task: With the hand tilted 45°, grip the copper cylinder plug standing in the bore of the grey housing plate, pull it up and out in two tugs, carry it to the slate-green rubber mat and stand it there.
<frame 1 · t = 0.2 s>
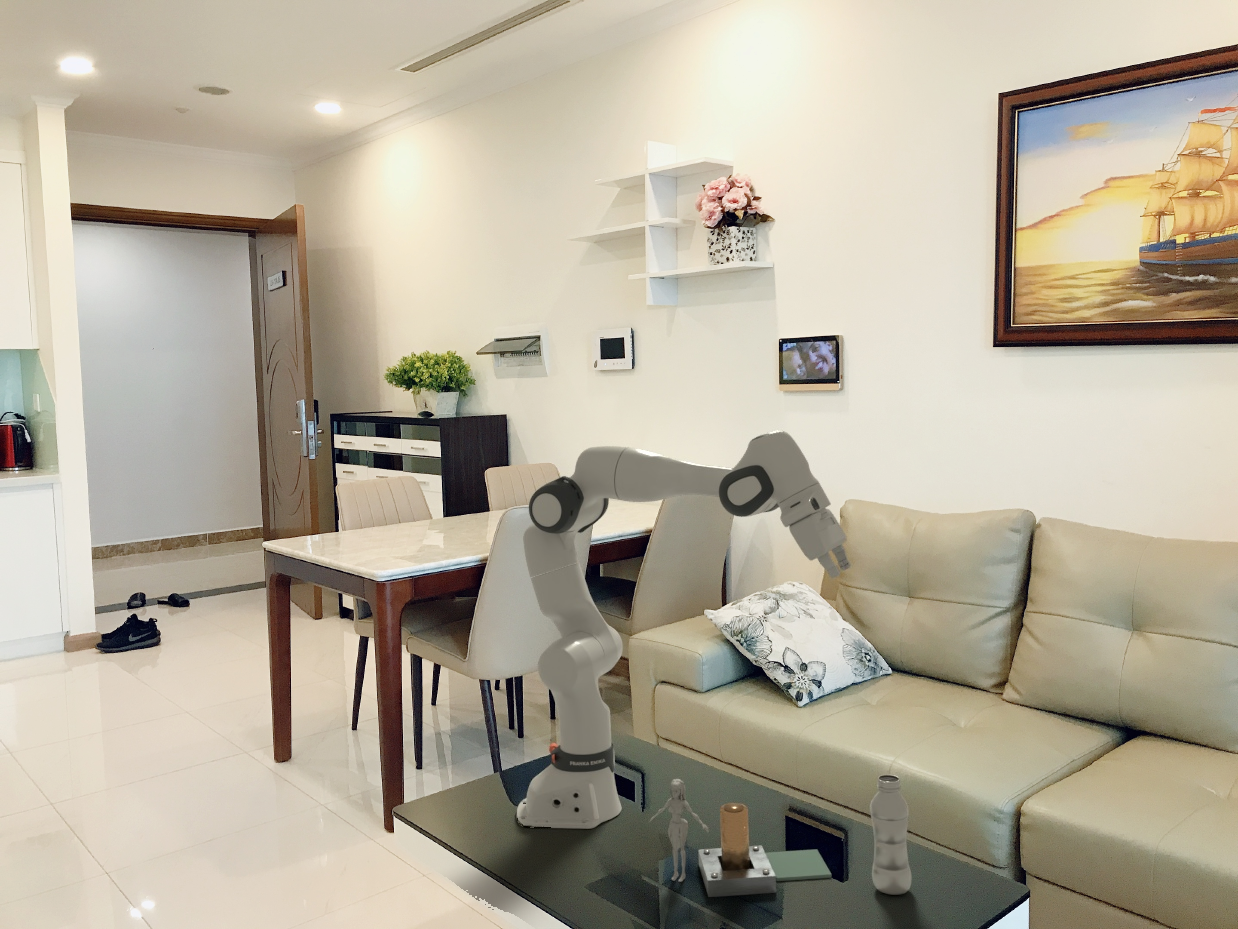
hand: (841, 572, 181), 54 cm above the table, tool tilted 30°, fingers open, 8 cm apart
housing: (736, 878, 175), on the table
human figurine: (680, 878, 177), on the table
plastic bottle: (891, 891, 169), on the table
copper plug: (735, 842, 175), in the housing
mat: (797, 866, 179), on the table
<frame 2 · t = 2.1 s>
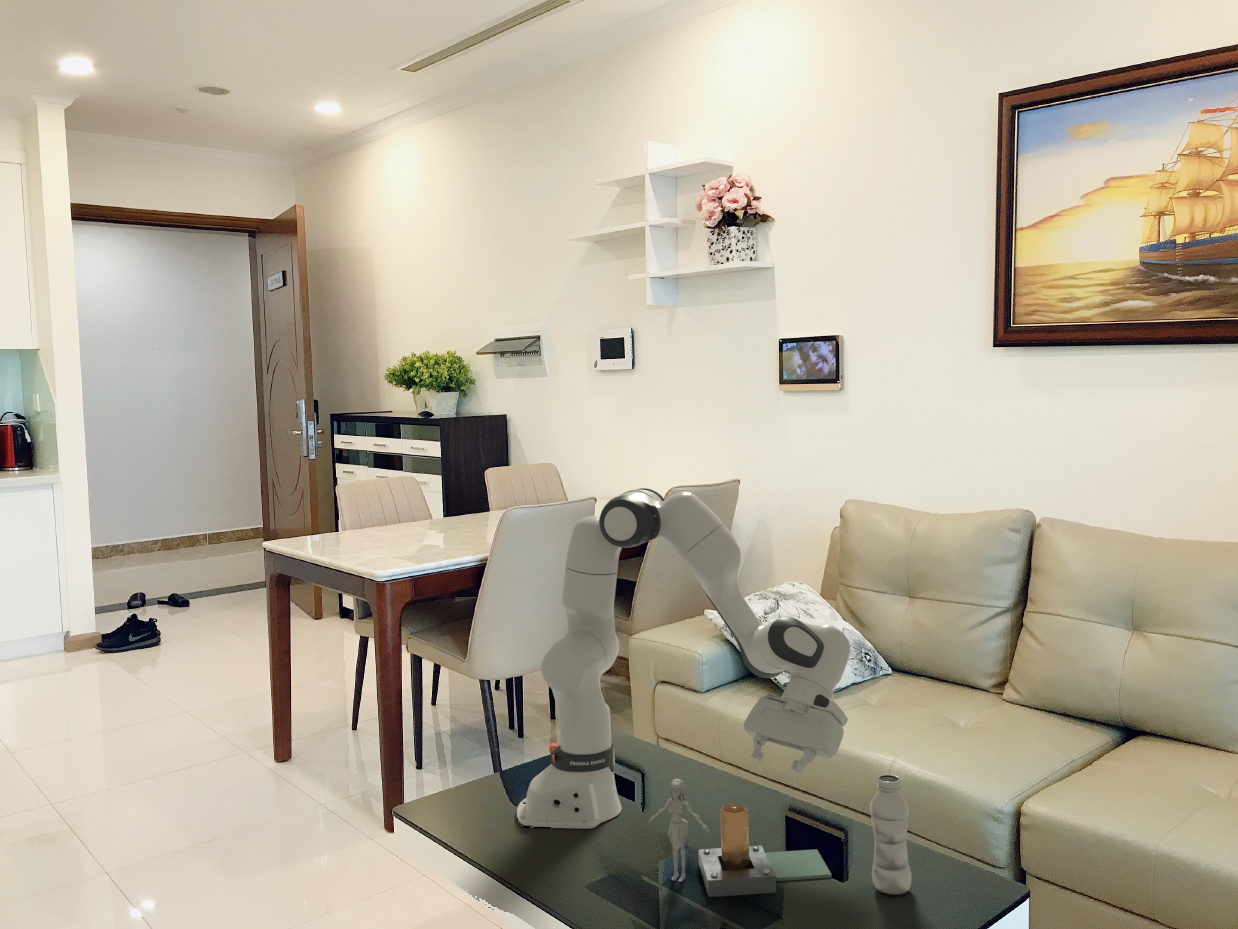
hand: (775, 765, 183), 17 cm above the table, tool tilted 45°, fingers open, 8 cm apart
nothing on the table moved.
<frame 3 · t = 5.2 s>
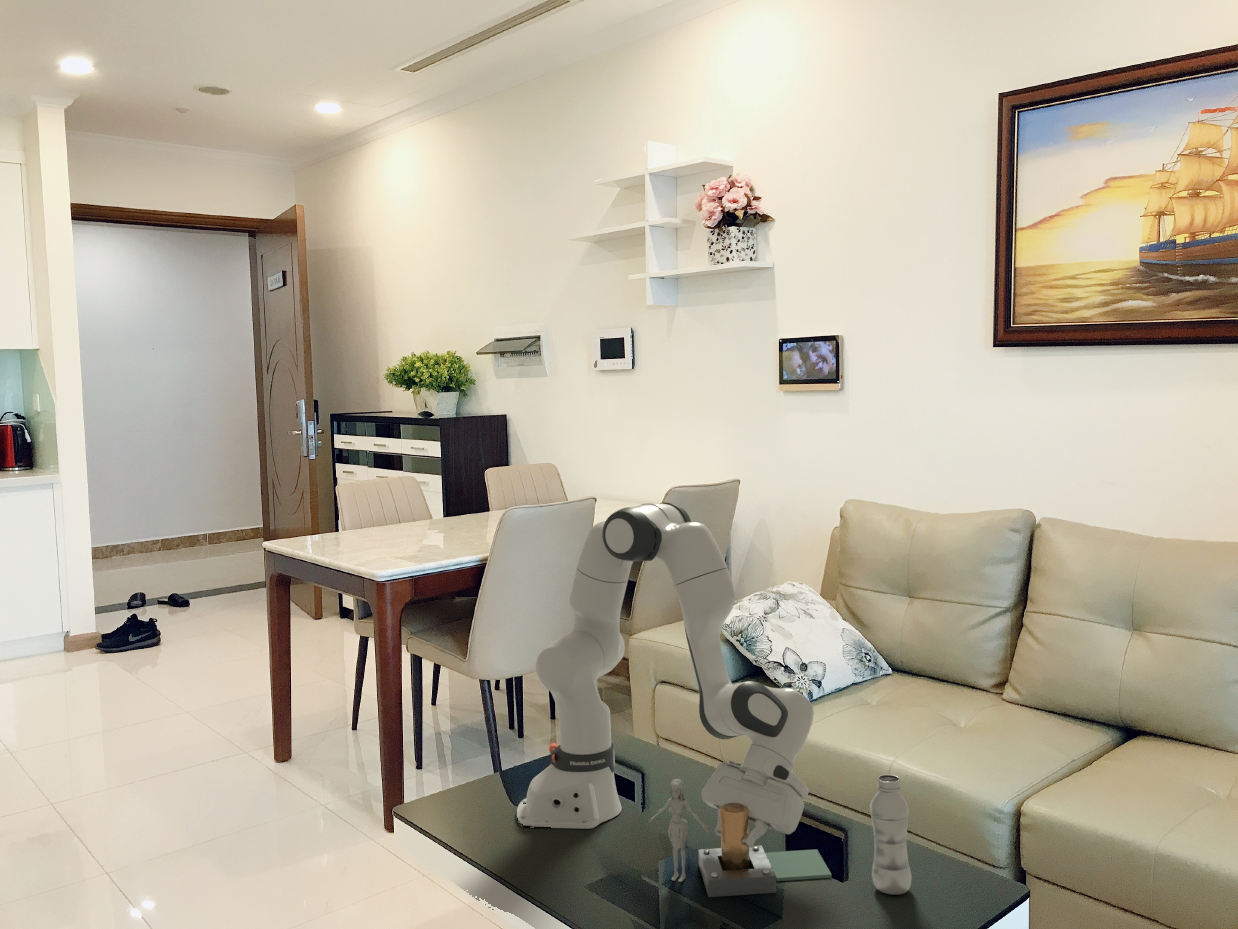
hand: (732, 840, 174), 7 cm above the table, tool tilted 45°, fingers closed on copper plug, 5 cm apart
copper plug: (735, 842, 175), in the housing, touching gripper
everything else where it was.
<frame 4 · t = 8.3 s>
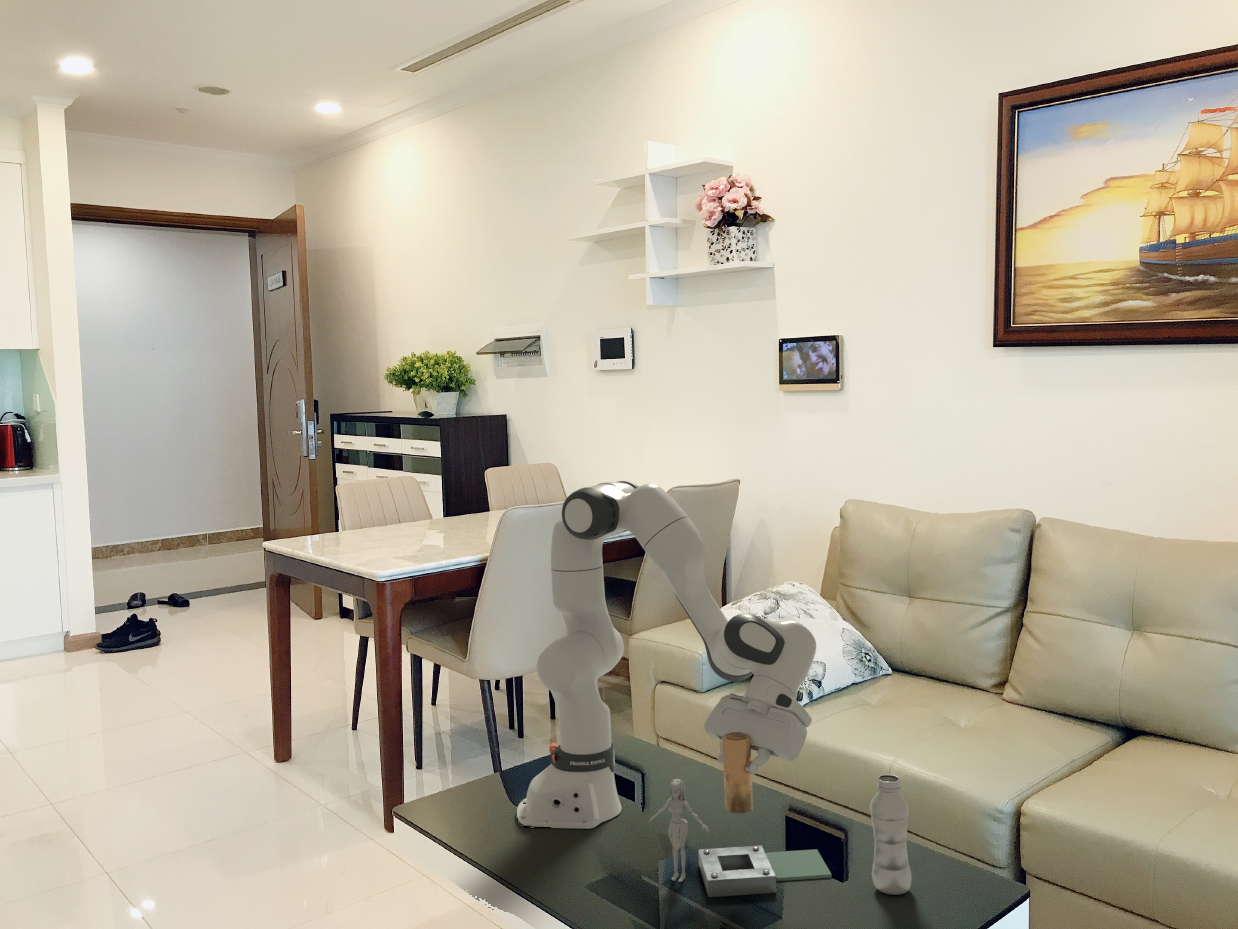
hand: (735, 768, 174), 20 cm above the table, tool tilted 45°, fingers closed on copper plug, 5 cm apart
copper plug: (737, 771, 174), point 20 cm above the table, touching gripper
everything else where it was.
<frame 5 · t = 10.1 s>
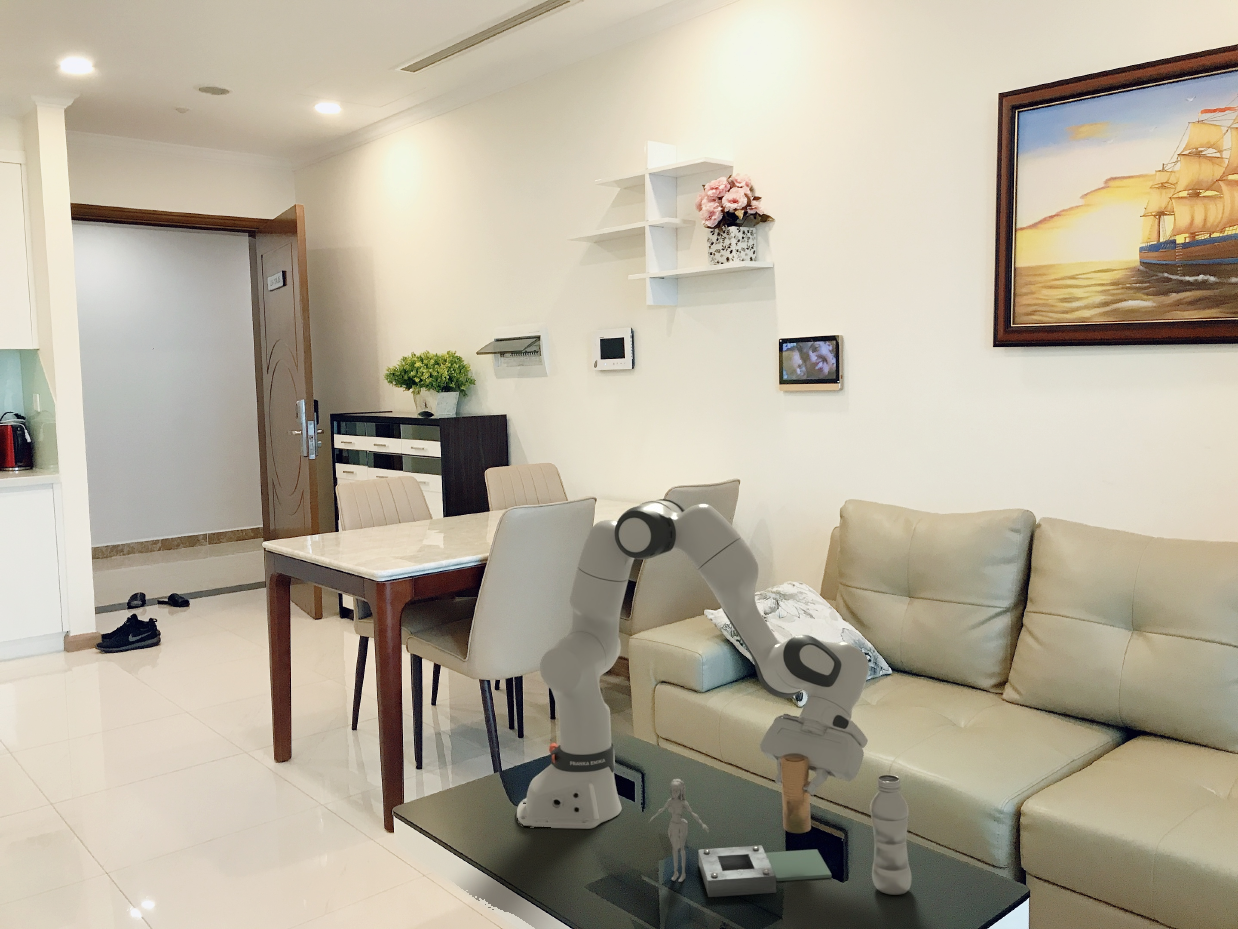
hand: (793, 788, 178), 15 cm above the table, tool tilted 45°, fingers closed on copper plug, 5 cm apart
copper plug: (795, 792, 178), point 14 cm above the table, touching gripper
everything else where it was.
when the fingers open (9 cm above the table, at t = 11.5 s): copper plug drops 1 cm, resting on mat.
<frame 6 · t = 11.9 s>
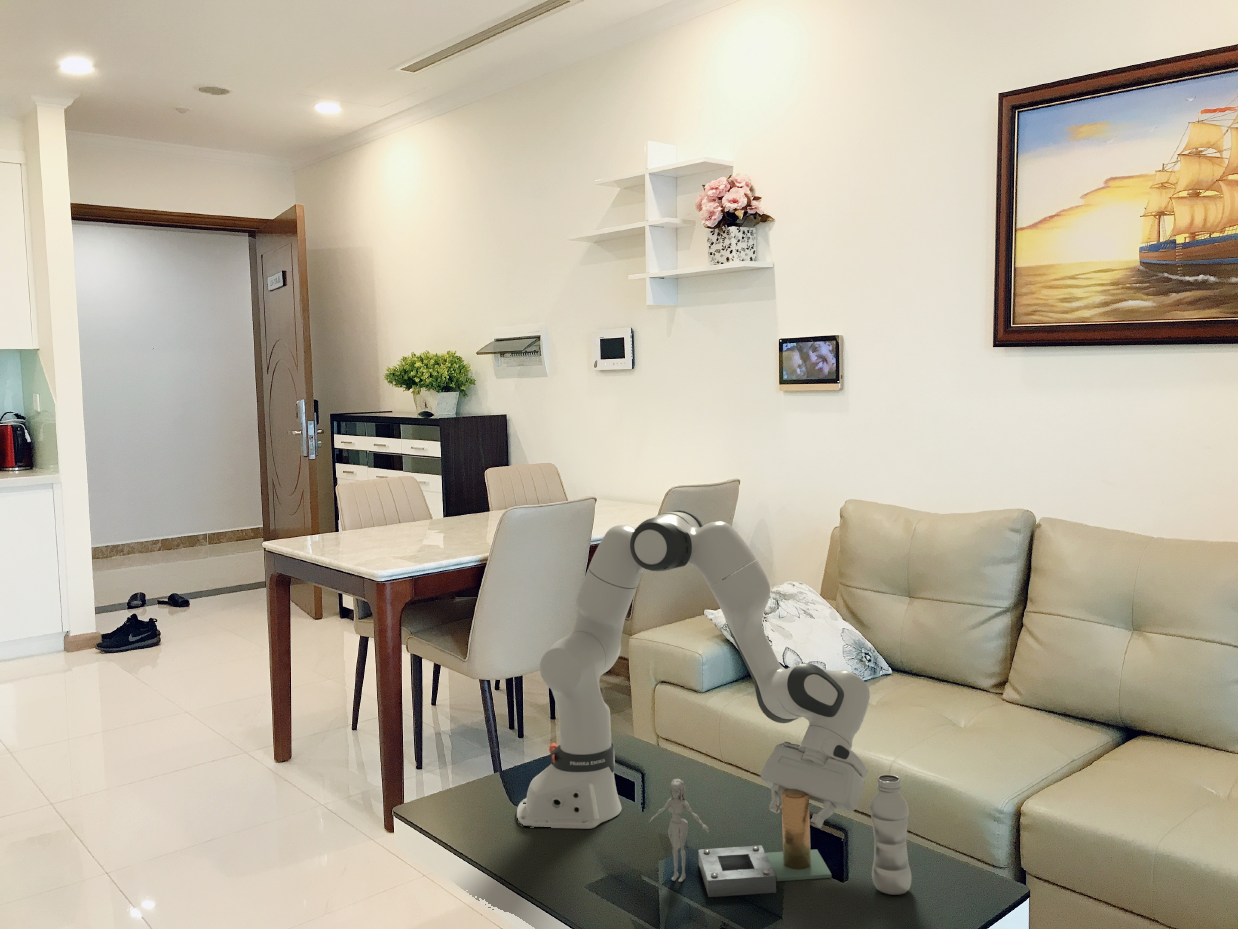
hand: (793, 818, 178), 9 cm above the table, tool tilted 45°, fingers open, 8 cm apart
copper plug: (796, 828, 178), on the mat, point 7 cm above the table
everything else where it was.
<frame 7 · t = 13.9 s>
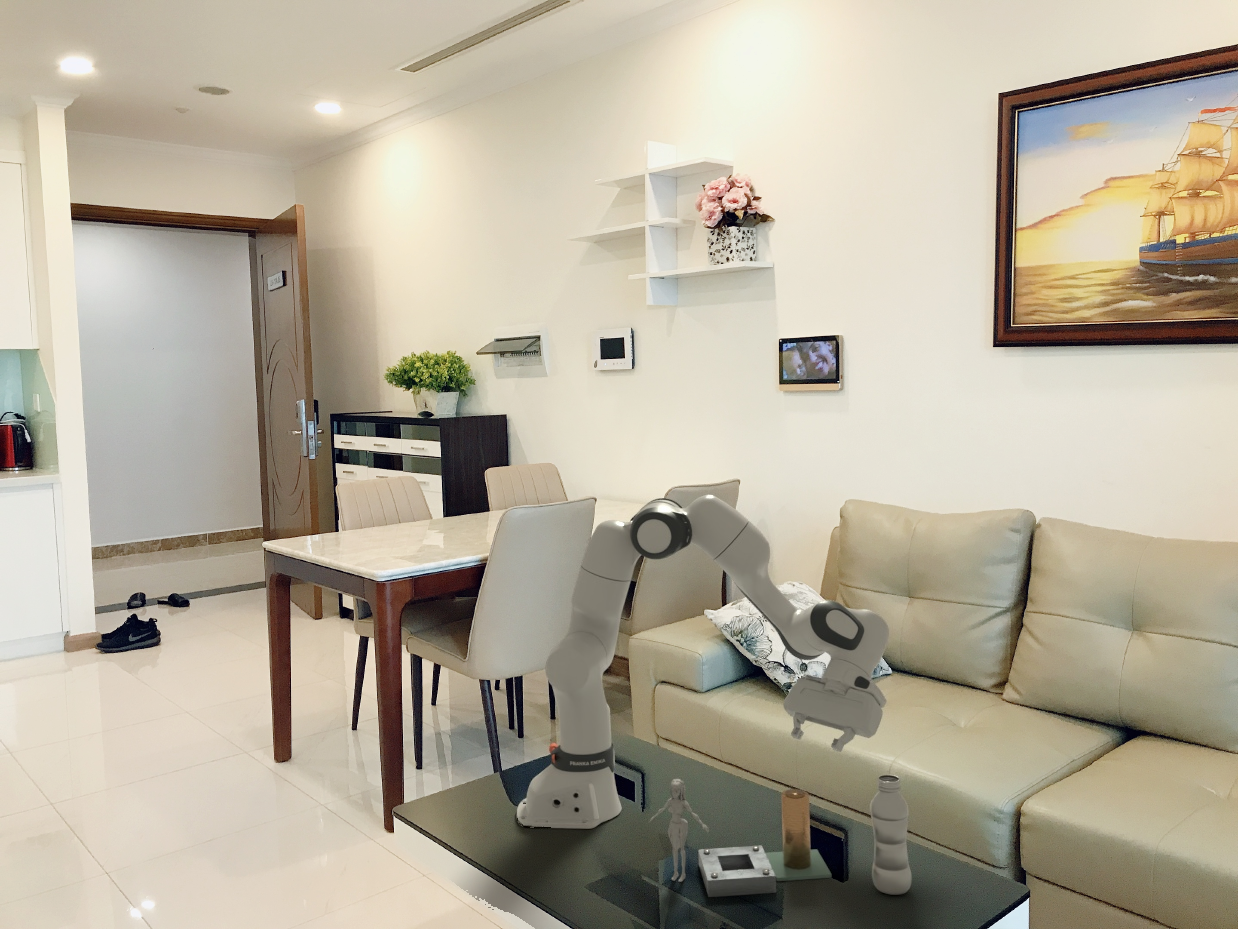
hand: (815, 743, 188), 19 cm above the table, tool tilted 45°, fingers open, 8 cm apart
nothing on the table moved.
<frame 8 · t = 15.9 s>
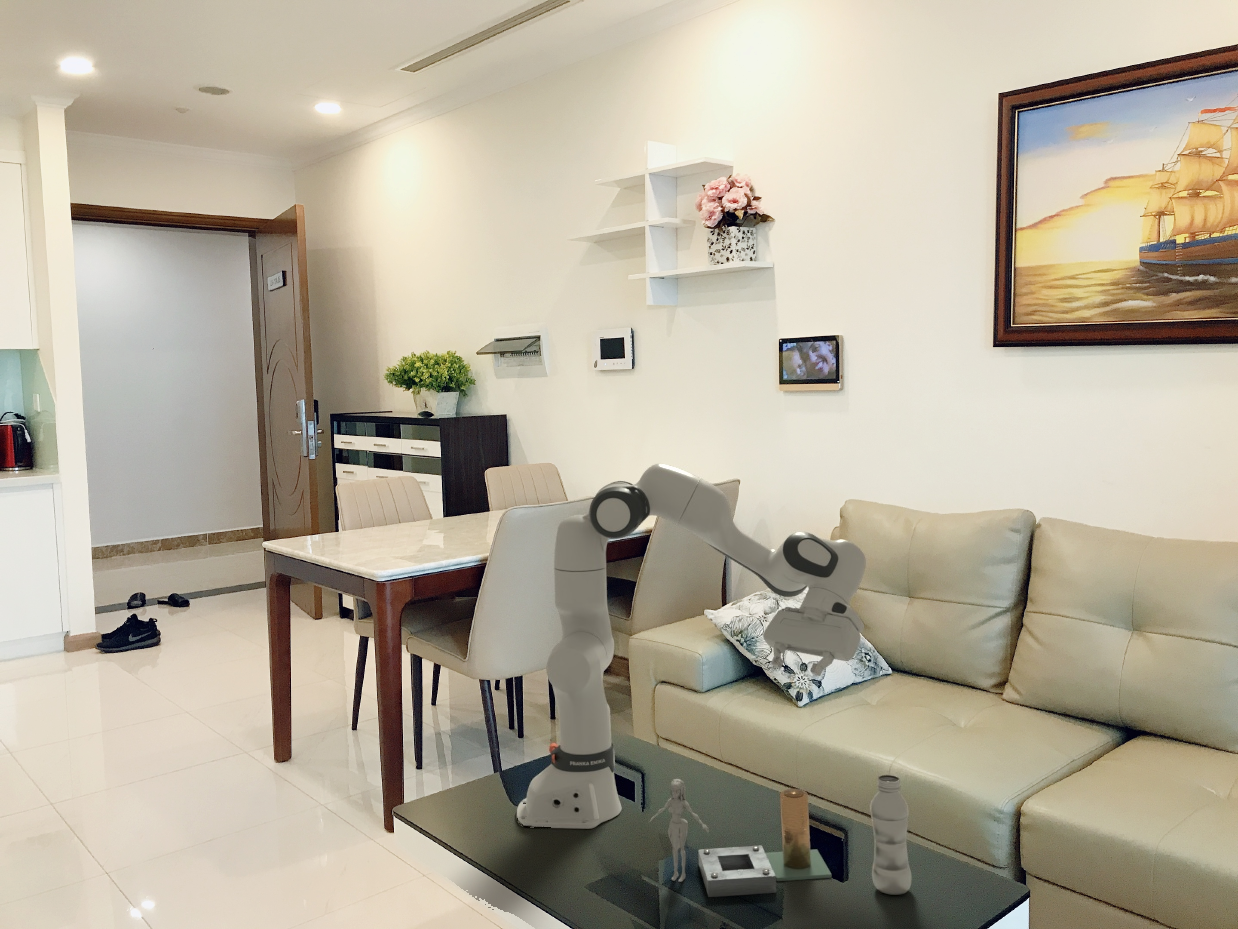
hand: (794, 670, 190), 33 cm above the table, tool tilted 45°, fingers open, 8 cm apart
nothing on the table moved.
at the end: copper plug inside the target area on the mat (0.1 cm from its centre), point 7.3 cm above the mat's base; copper plug tilted 1°; the gripper is holding nothing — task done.
